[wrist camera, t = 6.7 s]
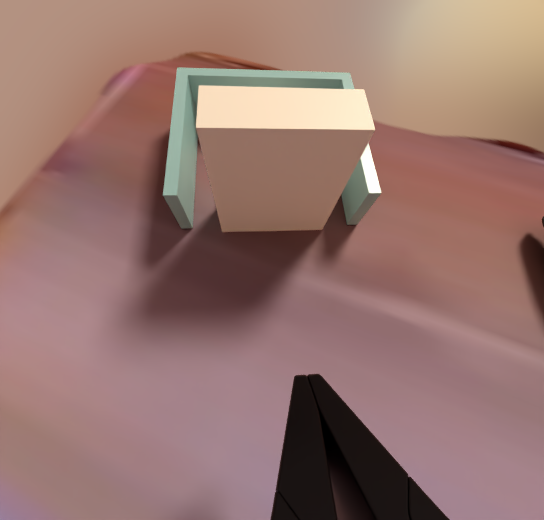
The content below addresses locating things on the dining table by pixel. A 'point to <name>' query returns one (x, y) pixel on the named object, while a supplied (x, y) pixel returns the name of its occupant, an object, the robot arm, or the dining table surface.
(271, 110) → the bookend
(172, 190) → the box
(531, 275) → the dining table surface
